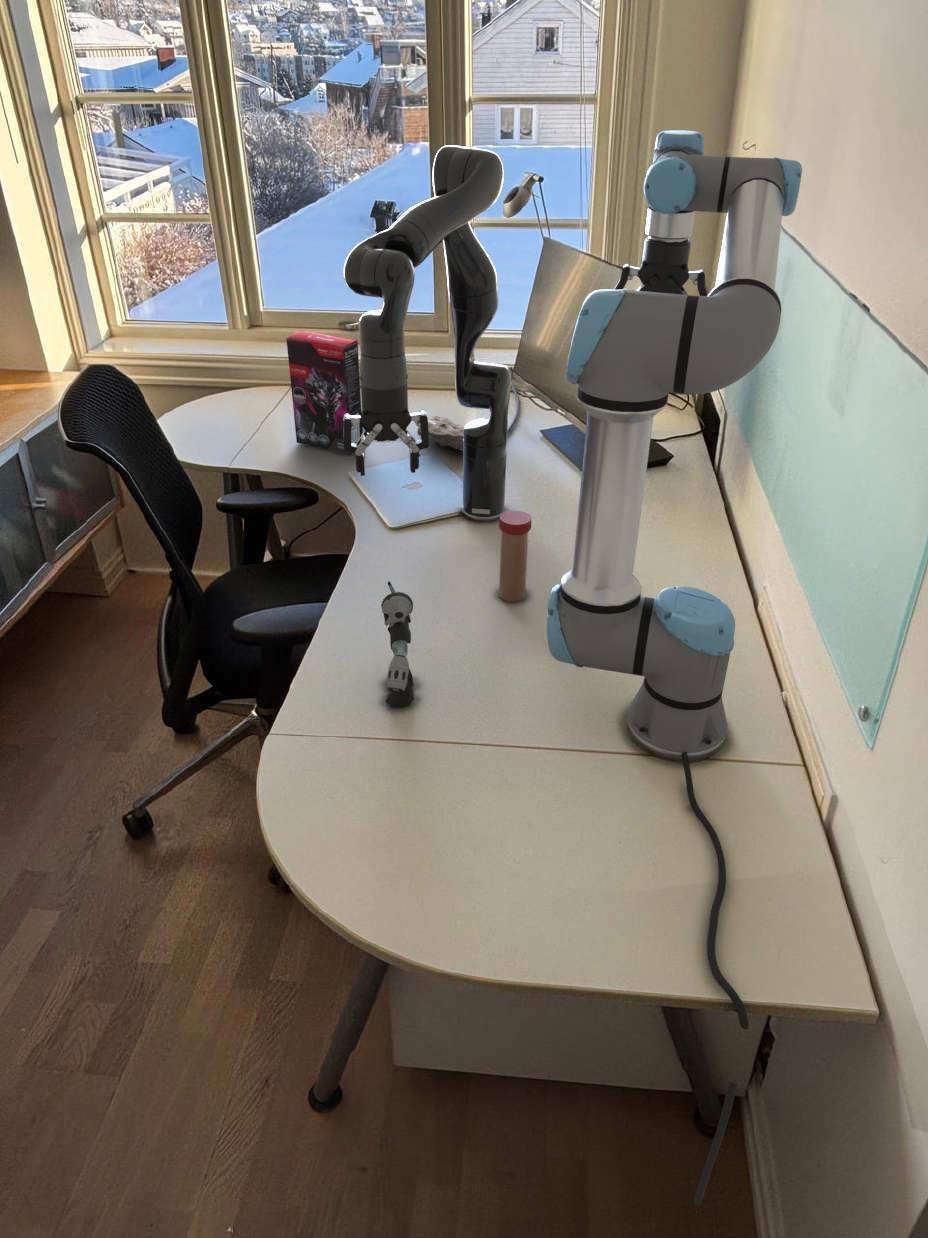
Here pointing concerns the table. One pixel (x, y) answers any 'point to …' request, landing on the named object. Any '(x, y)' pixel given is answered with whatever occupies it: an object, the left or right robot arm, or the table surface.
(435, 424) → the stone
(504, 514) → the lid
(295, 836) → the table surface
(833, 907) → the table surface
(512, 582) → the jar
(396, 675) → the robot
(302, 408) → the graphics card box
